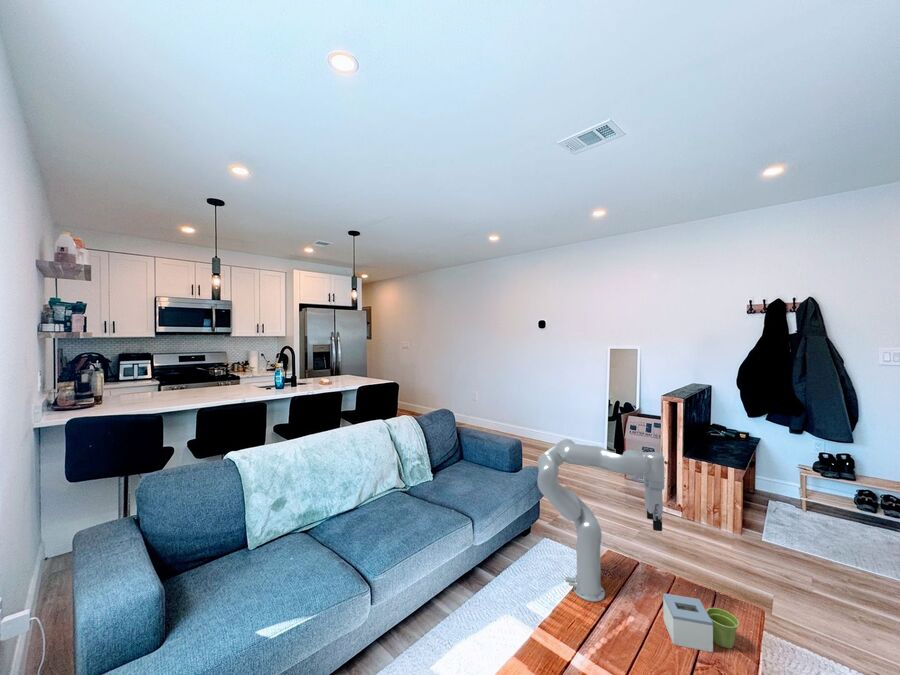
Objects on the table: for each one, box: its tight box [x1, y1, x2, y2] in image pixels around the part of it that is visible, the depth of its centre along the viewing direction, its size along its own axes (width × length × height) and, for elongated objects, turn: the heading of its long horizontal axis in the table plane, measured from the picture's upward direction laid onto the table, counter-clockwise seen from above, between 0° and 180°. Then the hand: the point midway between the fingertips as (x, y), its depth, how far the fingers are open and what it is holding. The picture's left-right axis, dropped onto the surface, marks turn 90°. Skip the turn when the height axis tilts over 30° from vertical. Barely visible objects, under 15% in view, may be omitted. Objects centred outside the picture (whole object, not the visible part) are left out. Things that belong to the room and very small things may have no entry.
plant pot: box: [705, 607, 740, 649], centre depth 130 cm, size 9×9×9 cm
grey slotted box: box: [662, 593, 714, 653], centre depth 132 cm, size 12×12×10 cm
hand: (654, 524), depth 152 cm, fingers open, 9 cm apart
